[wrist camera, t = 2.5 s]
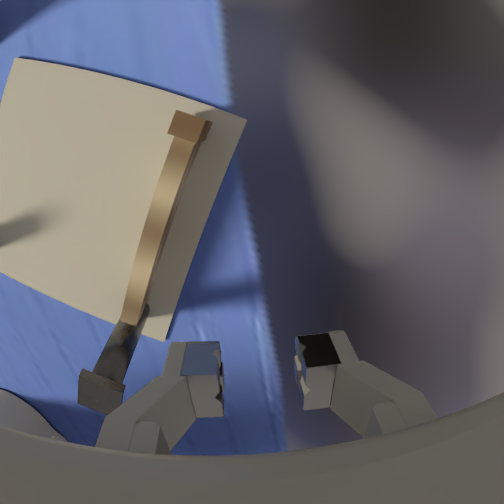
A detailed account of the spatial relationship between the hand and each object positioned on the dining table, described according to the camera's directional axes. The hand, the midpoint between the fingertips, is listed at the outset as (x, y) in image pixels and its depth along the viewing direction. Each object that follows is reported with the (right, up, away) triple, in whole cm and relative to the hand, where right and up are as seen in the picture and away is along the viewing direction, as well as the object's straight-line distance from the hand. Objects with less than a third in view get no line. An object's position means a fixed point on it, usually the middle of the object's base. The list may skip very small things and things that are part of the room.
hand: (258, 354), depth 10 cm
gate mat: (-16, +8, +16) cm, 25 cm away
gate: (-8, +6, +17) cm, 19 cm away
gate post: (-11, -2, +21) cm, 24 cm away
